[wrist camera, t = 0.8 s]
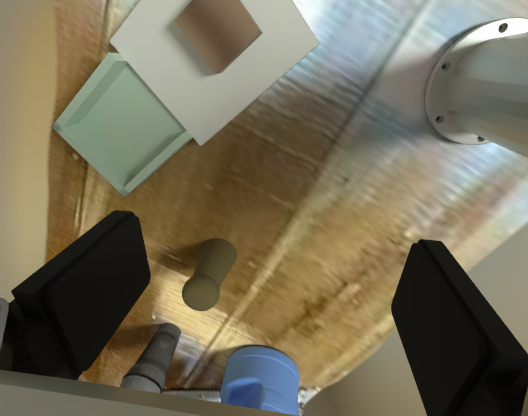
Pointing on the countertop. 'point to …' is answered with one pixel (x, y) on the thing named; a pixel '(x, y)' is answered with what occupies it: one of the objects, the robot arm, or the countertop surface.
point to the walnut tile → (218, 30)
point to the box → (121, 126)
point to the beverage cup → (154, 361)
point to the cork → (209, 274)
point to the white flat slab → (196, 68)
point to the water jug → (261, 380)
